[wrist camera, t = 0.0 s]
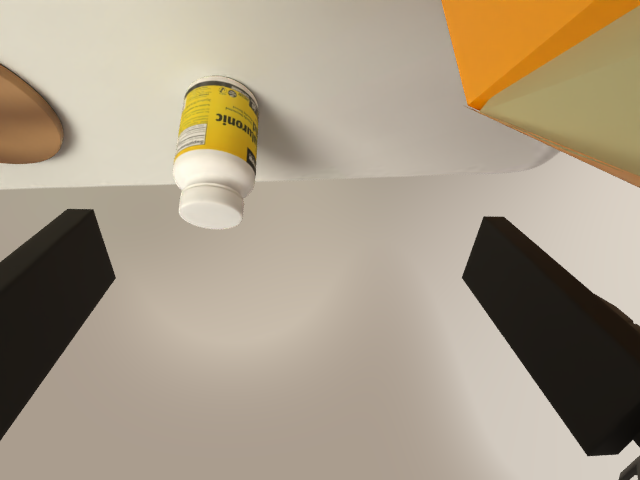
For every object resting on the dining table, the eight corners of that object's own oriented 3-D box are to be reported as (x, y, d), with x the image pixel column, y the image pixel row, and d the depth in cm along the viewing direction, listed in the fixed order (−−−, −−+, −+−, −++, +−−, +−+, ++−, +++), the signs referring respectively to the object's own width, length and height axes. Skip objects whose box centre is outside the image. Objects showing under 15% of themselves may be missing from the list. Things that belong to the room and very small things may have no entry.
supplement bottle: (273, 112, 27) (269, 224, 23) (219, 134, 29) (208, 239, 25) (227, 60, 22) (214, 188, 18) (168, 90, 24) (145, 210, 20)
